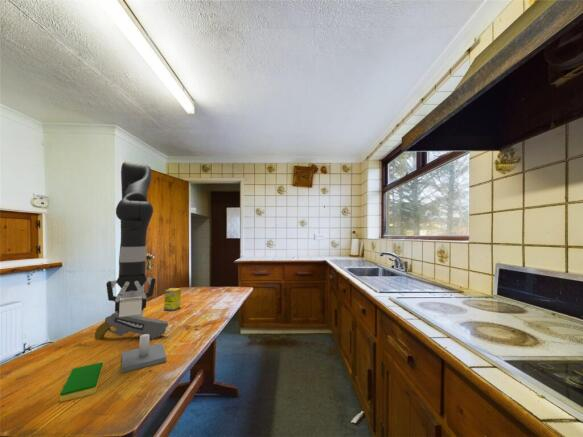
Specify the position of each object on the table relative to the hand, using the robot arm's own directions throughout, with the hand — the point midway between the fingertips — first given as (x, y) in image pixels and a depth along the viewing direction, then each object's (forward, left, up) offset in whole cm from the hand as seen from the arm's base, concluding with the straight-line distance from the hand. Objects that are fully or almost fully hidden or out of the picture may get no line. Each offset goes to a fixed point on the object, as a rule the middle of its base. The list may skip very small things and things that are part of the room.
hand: (130, 311), depth 82 cm
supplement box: (-54, +20, -16) cm, 60 cm away
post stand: (+1, +4, -16) cm, 16 cm away
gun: (-21, +1, -16) cm, 27 cm away
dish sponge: (+8, -10, -17) cm, 21 cm away
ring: (0, 0, -1) cm, 1 cm away
